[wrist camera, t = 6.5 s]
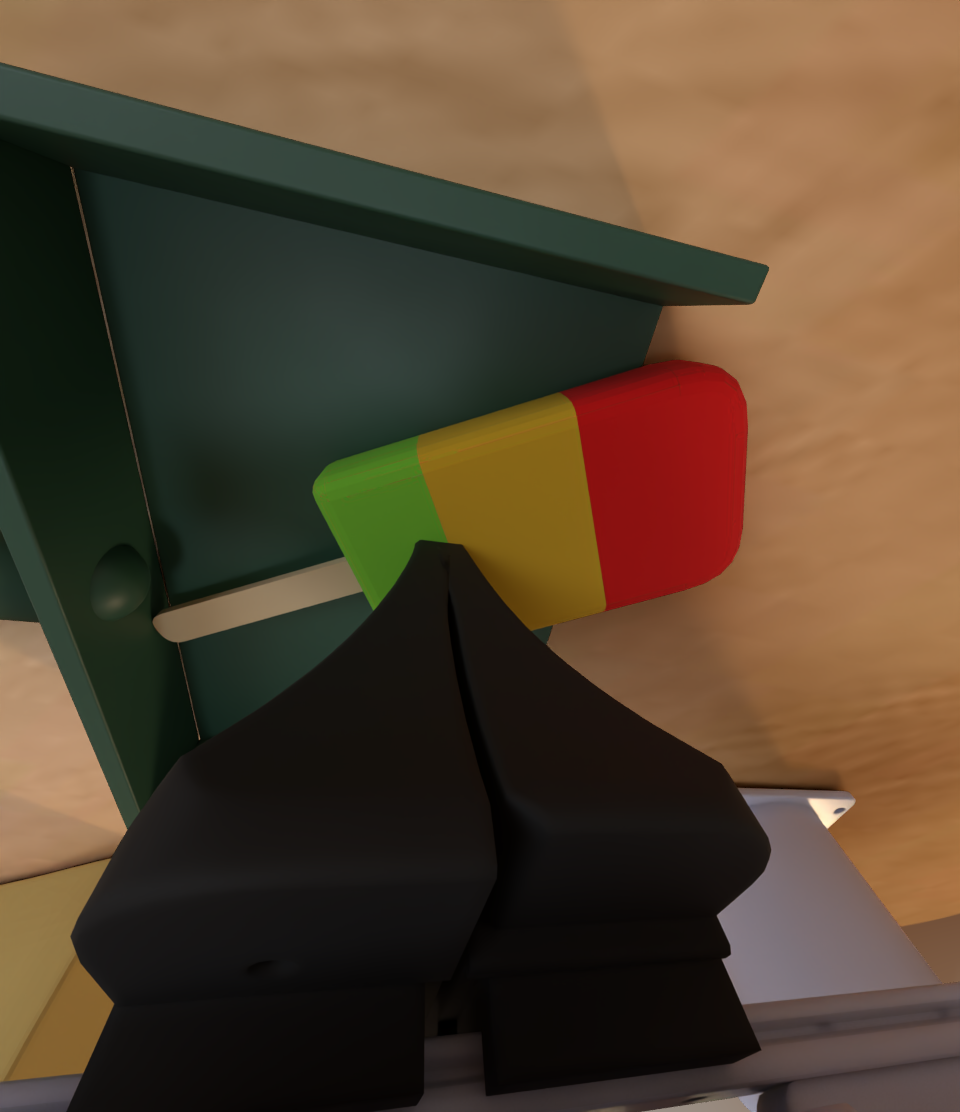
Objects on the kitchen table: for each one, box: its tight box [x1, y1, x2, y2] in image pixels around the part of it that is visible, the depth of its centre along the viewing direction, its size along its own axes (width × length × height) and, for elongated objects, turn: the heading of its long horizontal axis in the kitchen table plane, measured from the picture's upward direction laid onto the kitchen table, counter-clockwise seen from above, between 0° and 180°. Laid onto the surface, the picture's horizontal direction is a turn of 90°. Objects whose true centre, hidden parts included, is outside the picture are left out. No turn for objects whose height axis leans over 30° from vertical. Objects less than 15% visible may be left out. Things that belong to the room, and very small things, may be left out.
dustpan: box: [0, 62, 769, 830], centre depth 10 cm, size 20×16×3 cm
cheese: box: [0, 858, 114, 1082], centre depth 16 cm, size 10×11×10 cm
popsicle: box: [153, 360, 748, 642], centre depth 10 cm, size 6×15×2 cm, turn 106°
